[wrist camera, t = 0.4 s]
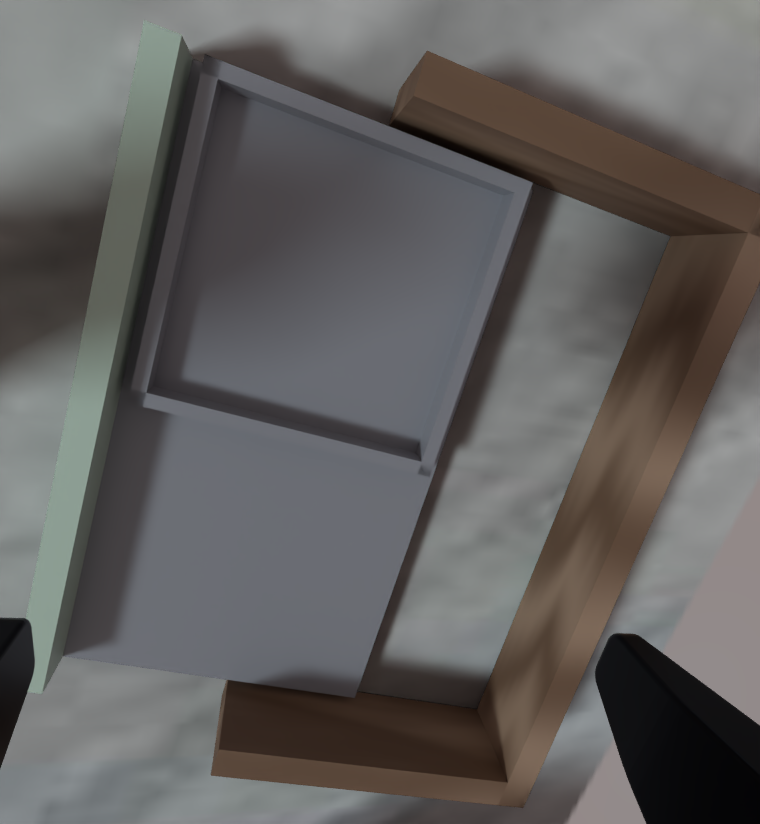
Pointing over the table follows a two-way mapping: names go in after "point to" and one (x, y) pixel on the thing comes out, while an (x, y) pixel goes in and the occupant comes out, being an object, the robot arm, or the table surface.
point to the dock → (591, 482)
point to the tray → (260, 378)
